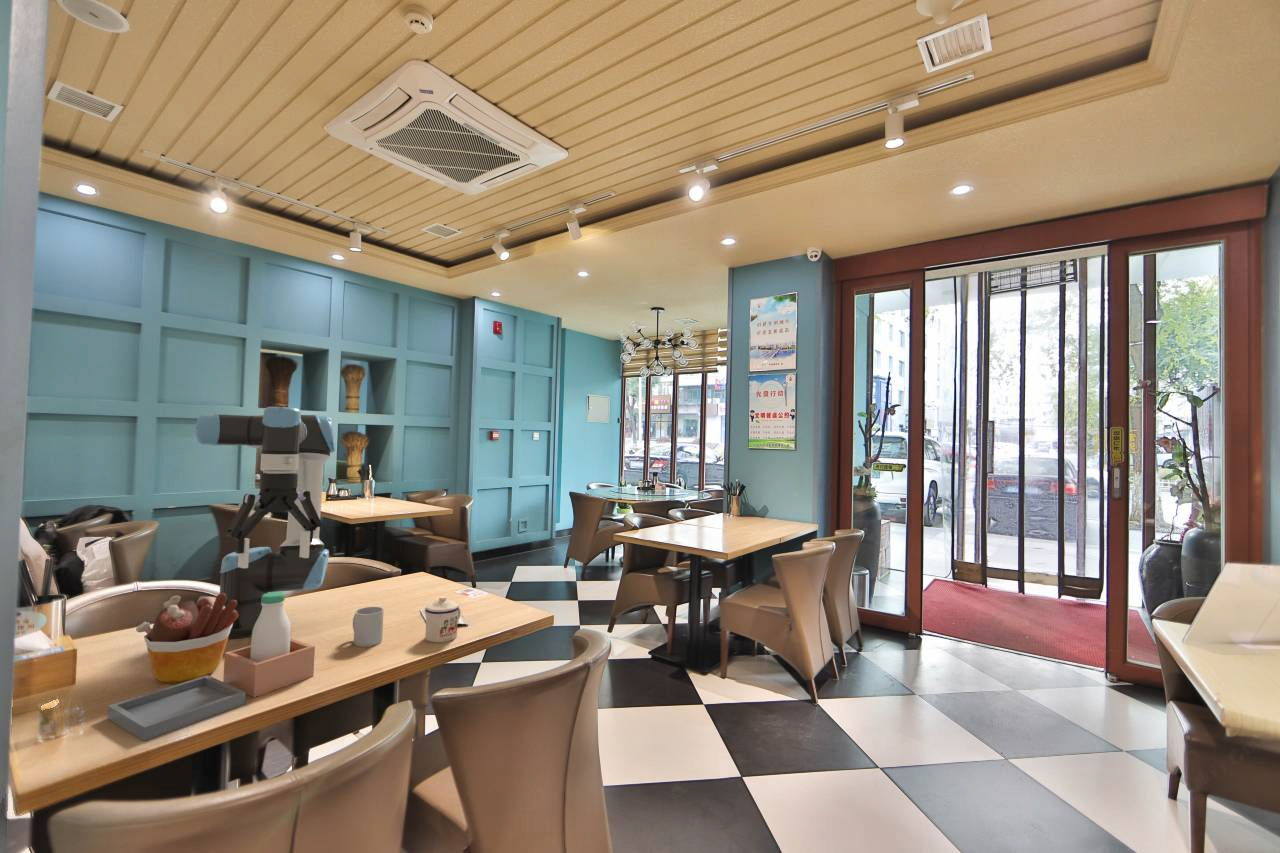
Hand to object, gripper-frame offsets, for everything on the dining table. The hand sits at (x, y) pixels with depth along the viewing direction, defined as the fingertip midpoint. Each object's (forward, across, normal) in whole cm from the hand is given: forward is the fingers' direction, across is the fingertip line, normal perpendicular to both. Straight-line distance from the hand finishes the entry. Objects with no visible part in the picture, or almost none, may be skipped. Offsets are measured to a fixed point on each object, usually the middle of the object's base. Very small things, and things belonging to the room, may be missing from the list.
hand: (274, 562), depth 129 cm
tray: (+28, -17, 0) cm, 32 cm away
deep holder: (+27, 0, 0) cm, 27 cm away
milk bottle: (+28, 0, 0) cm, 28 cm away
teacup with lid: (+28, +42, -11) cm, 52 cm away
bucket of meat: (+28, -8, +19) cm, 34 cm away
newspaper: (+28, +53, +2) cm, 60 cm away
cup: (+28, +27, +4) cm, 39 cm away
